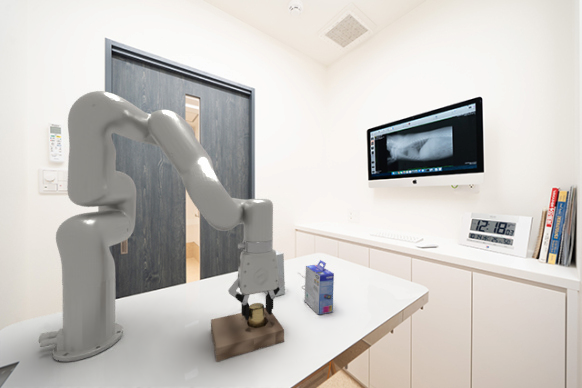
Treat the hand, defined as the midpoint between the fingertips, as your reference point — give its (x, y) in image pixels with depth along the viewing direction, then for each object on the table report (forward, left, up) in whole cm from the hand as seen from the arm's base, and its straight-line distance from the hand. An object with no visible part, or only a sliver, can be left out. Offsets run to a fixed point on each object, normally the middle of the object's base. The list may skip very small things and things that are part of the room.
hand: (257, 314), depth 59 cm
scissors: (+30, +25, -6) cm, 39 cm away
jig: (-3, 0, -5) cm, 6 cm away
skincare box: (+12, +21, -5) cm, 25 cm away
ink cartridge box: (+22, +5, -5) cm, 23 cm away
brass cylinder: (0, 0, -5) cm, 5 cm away
